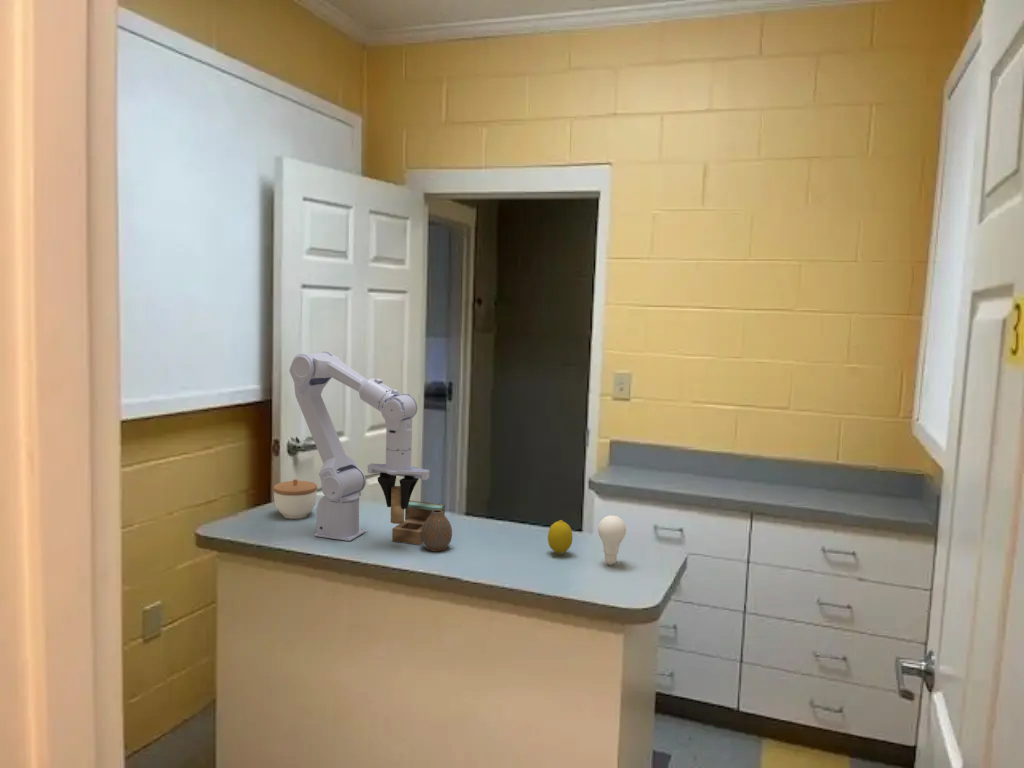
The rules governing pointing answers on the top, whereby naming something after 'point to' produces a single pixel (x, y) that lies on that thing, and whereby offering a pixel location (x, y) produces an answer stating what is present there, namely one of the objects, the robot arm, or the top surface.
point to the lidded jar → (295, 498)
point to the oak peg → (396, 506)
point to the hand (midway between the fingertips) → (397, 506)
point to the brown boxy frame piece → (414, 522)
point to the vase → (436, 531)
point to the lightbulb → (611, 536)
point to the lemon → (560, 537)
